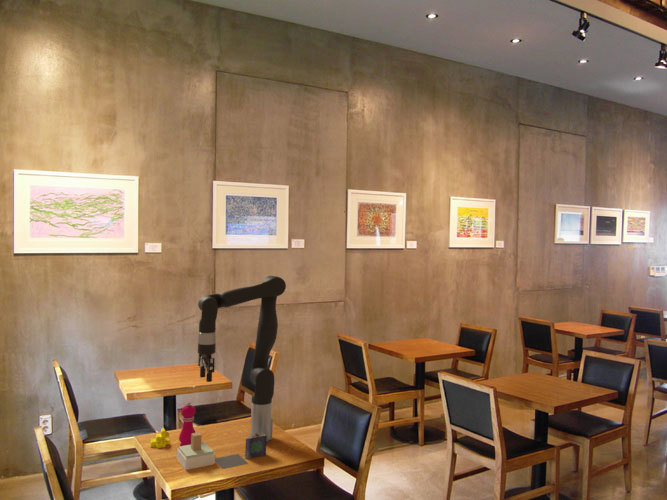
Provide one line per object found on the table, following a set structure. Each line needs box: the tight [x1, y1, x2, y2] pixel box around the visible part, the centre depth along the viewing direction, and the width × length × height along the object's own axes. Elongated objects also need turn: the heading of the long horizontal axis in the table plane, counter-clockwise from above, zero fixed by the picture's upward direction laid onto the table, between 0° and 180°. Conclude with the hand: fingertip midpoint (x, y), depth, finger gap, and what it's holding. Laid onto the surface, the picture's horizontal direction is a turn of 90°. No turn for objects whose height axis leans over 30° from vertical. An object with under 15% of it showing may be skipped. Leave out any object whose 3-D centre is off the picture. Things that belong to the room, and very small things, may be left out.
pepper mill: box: [178, 401, 196, 447], centre depth 224 cm, size 7×7×20 cm
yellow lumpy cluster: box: [149, 427, 171, 449], centre depth 226 cm, size 6×8×8 cm
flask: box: [244, 431, 267, 460], centre depth 217 cm, size 9×3×11 cm, turn 121°
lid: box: [178, 432, 215, 459], centre depth 209 cm, size 11×11×7 cm
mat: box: [215, 453, 249, 470], centre depth 211 cm, size 11×11×1 cm
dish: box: [176, 448, 216, 471], centre depth 209 cm, size 12×12×4 cm
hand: (205, 379), depth 224 cm, fingers open, 8 cm apart
